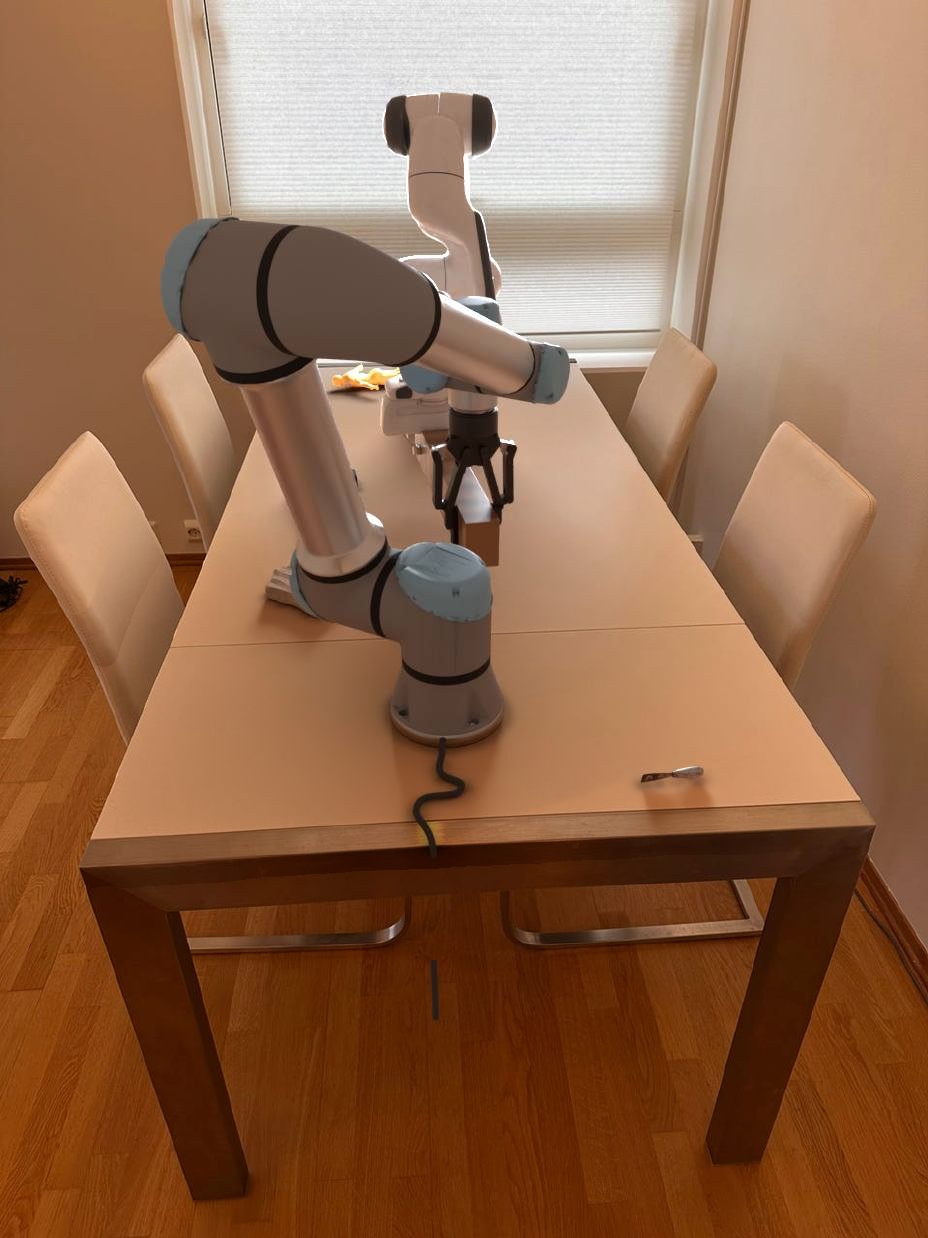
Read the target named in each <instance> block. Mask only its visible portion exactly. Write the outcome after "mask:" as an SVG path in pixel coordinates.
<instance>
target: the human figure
mask: <svg viewBox="0 0 928 1238" xmlns="http://www.w3.org/2000/svg"><path fill="white" fill-rule="evenodd" d="M362 364H363V361H360V364H359V365H358V366H355V368H353V369H352V370H349V371H346V373H345V374H343V375H342V376H341V375H337V374H336V375H333V377H332V378H331V382H332V384H333V386H334V387H339V388H342V387H345V386H346V383H348V384H350V385H351V386H352V387H354V388H363V387H364V388H367V389H369V390H371V391H372V390H374V389H375V390H376V391H379V389H380V388H379V385H380V386H382V385H383V386H385V381H386V380H388V379H390V378H393V377H395V376H398V375H400V371H399V367H396V369H394V370H390V369H389V370H388V369H383V370H382V369H380V368H373V369H371V370H370V371H369V372H368V373H367V374H366V373H359V372H360V371H363V370H364V366H363V365H362Z"/></svg>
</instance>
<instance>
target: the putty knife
mask: <svg viewBox="0 0 928 1238" xmlns="http://www.w3.org/2000/svg"><path fill="white" fill-rule="evenodd" d="M704 772H705V771H704V768H702V767H701V766H697V765H695V766H688V767H683V768H679V769H675V770H673V771H671V772H653V773H652V772H651V773H650V772H649V773H644V774H642V776H641V779H640V783H642V784H645V783H648V782H653V781H659V780H665V779H668V778H673V779H674V778H675V779H693V778H694V779H695V778H700V777H702V776H703V775H704Z"/></svg>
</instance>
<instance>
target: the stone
mask: <svg viewBox="0 0 928 1238" xmlns="http://www.w3.org/2000/svg"><path fill="white" fill-rule="evenodd" d="M291 573H292V568H290V565H287V566H283V567H282V566H277V567H275V568H274V570H273V573H272V574H271V578H270V581H269V583H267V584H266V585H265V587H264V588H265V593H264V597H265V598H266V599H269V600H273V601H277V602H278V603H280V604H288V605H291V606H294V607H296V608H298V609H300V610H301V611H302V612H305V614H307V615H309V616H310V617H314V618H317V617H316V616H315V615H312V614H310V613H308V612H306V611H305V610H304V609H302V608H301V607H300V605H299V604H298V603H297V601H296V600H295V598H294V596H293V594H292V591H291V588H290V582H289V575H290V574H291Z"/></svg>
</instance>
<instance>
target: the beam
mask: <svg viewBox="0 0 928 1238" xmlns="http://www.w3.org/2000/svg"><path fill="white" fill-rule="evenodd" d="M448 435H449V429H442V430H429V431H421V434H415V439H414V442H415V444H420V446H421V455H415V456H416V458H417V461H418V463H419V466H420V468H421V470H422V472H423V475H424V477H425V480H426V482H427V484H428V486H429V488H430V491H431V492H432V481H433V459H432V456H431V453H430V451H429V448H430V446H432V445H435V446H436V447H437V446H440V445H442V444H445V443H446V440H447V438H448ZM454 460H455V458H454V457H453V456H452V454H451V453H450V452H449V451H447V452H446V457H445V459H444V460H442V463H443V492H442V499H443V500H444V499H445V495H446V492H447V488H448V484H449V481H450V477H451V474H452V470H453V464H454ZM490 503H491V502H490V500H489V498H488V497H487V495H486V492H485V491H484V490H483V487H482V486H481V484H480V482H479V480H478V479H477V477H476V475H475V473H474V472H473V470H472V467H467V468H466V471H465V474H464V475H463V478H462V482H461V485H460V488H459V492H458V495H457V499H456V502H455V507H456V510H457V512H458V545H459V546H462V547H464V548H466V549H468V550H470V551H472V552H473V553H475V554H476V555H478V556H479V557H480V558H481V559H482V560H483V561H484V563H485V564H486V567H487V568H492V567H499V566H500V531H501V528H500V527H501V525H500V520H499V518H498V516H497V515H496V513H495V511H494V509H493V507H492V506H491V504H490ZM439 511H440V514H441V516H442V519H444V511H443V510H439ZM448 533H449V534H450V535H451V531H450V530H448Z"/></svg>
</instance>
